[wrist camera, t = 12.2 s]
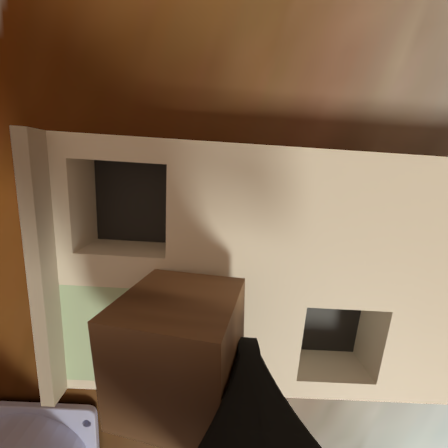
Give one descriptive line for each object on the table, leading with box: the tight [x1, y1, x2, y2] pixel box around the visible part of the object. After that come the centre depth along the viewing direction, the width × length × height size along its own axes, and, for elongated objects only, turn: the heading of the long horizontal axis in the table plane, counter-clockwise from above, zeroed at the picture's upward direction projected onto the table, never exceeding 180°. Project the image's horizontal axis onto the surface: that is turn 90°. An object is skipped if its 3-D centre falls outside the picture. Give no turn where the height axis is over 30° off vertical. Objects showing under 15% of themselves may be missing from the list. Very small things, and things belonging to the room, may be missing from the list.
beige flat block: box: [9, 125, 448, 407], centre depth 12 cm, size 12×23×4 cm, turn 86°
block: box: [87, 269, 245, 448], centre depth 9 cm, size 4×4×4 cm
